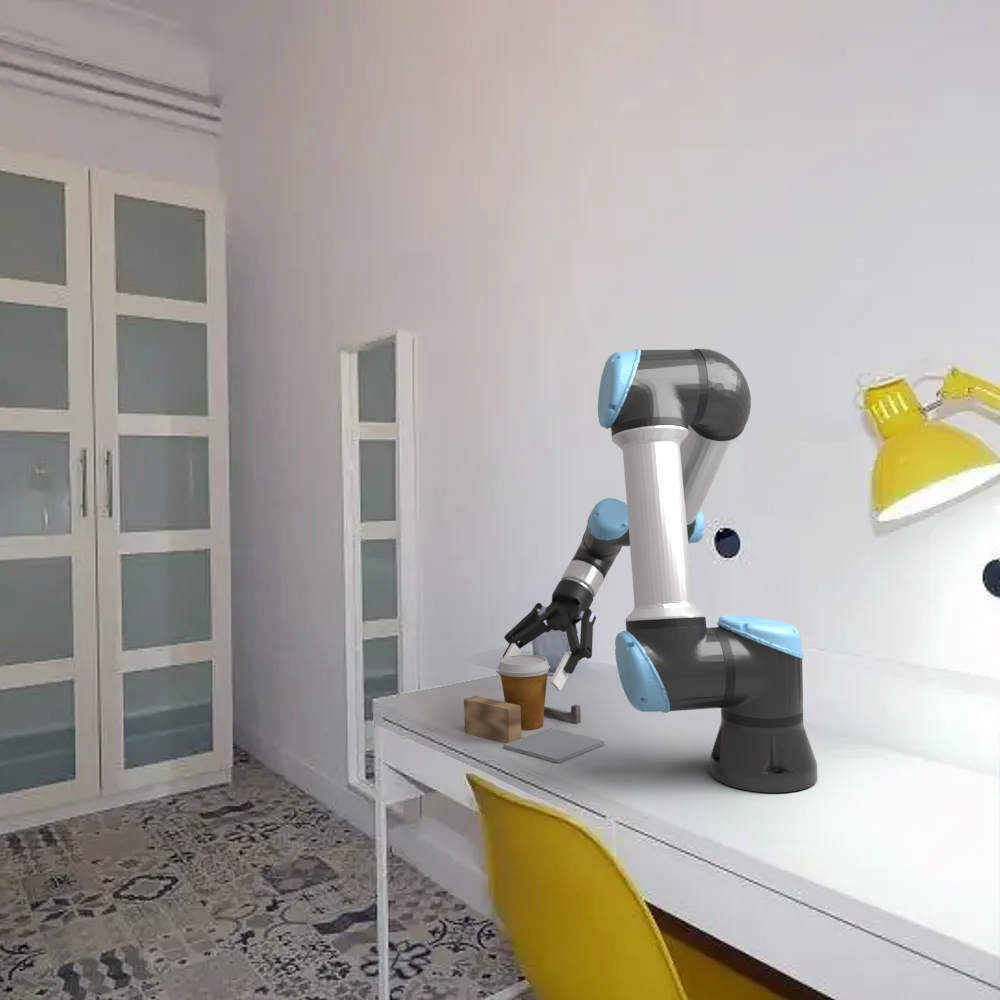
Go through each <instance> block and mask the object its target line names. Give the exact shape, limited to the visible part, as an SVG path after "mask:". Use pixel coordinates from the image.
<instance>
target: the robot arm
mask: <svg viewBox="0 0 1000 1000" xmlns="http://www.w3.org/2000/svg"><path fill="white" fill-rule="evenodd" d="M749 386H750V385H749V383H748V381H747V378H746V377H745V375H744V373H743V371H742V370H741V369H740V367H738V365H737V364H736V363H735V362H734V361H733V360H732V359H730V358H729V357H728V356H726V355H724V354H723V353H721V352H719V351H717V350H711V349H707V348H693V349H640V348H637V349H635V350H625V351H624V350H622V351H616V352H614V353H612V354H611V355H610V356H609V357H608V358H607V360H606V361H605V363H604V365H603V370H602V374H601V378H600V383H599V388H598V396H597V398H598V400H597V417H598V421H599V422H598V423H599V425H600V426H601V427H602V428H605V429H606V430H608V429H610V432H611V441H612V443H614V444H615V445H616V446H617V447H618V448H619V449H621V451H622V457H623V470H624V482H625V483H624V484H625V496H626V502H624V501H623V500H619V499H617V498H614V497H608V498H603V499H601V500H599V501H598V502H597V503H596V504H595V505H594V507H593V508H592V510H591V512H590V514H589V516H588V519H587V524H586V527H585V530H584V533H583V536H582V539H581V541H580V544H579V545H578V547H577V549H576V551H575V553H574V555H573V557H572V559H571V561H570V562H569V563H568V565H567V567H566V569H565V571H564V573H563V574H562V576H561V577H560V581H558V583H557V585H556V586H555V588H554V590H553V592H552V594H551V602H550V604H549V605H548V606H543V604H542V603H541V602H537V603H536V604H535V605H534V607H532V610H530V612H529V613H528V614H527V615H525V616H524V617H523V618H522V619H521V620H519V622H518V623H517V624H515V626H514V627H512V628H511V629H510V630H509V631H508V632H507V633H506V634H505V635H504V637H503V638H504V640H505V641H506V642H507V643H508V646H507V648H506V649H505V651H504V653H503V655H502V658H505V657H509V656H516V655H522V652H523V651H522V650H521V649H522V648H523V647H525V646H526V645H528V644H529V643H530V642H532V641H534V640H535V639H537V638H538V637H540V636H541V635H543V634H545V633H550V632H551V631H560V632H562V633H566V639H567V642H568V646H569V648H568V651H565V653H564V654H563V656H562V658H561V660H560V662H559V663H558V666H557V668H556V670H555V671H554V673H553V676H552V678H551V679H550V682H549V683H550V684H551V686H553V687H554V689H556V691H559V692H561V691H562V689H563V688H564V685H565V683H566V681H567V679H568V678H569V676H570V675H571V674H573V673H574V672H575V669H576V667H577V665H578V663H579V662H580V661H581V660H582V659H585V658H586V659H588V660H589V659H592V657H593V638H594V637H593V636H594V635H593V634H594V633H593V632H594V626H595V625H594V624H595V622H596V619H597V617H596V615H595V613H594V612H593V611H592V609H591V608H590V607H591V606H592V604H593V602H594V598H595V597H596V595H597V594H598V592H599V589H600V588H601V586H602V584H603V582H604V580H605V578H606V577H607V574H608V573H609V570H610V569H611V567H612V566H613V564H614V562H615V560H616V558H617V557H618V555H619V553H620V552H621V550H622V548H623V547H629V548H630V549H629V550H630V551H629V552H630V564H631V574H632V587H633V588H632V589H633V599H634V600H633V601H634V607H633V609H632V611H630V614H629V615H627V617H626V618H625V628H626V630H622V631H621V632H619V633H617V635H616V637H615V641H614V642H615V643H614V644H615V648H614V651H615V652H614V653H615V661H616V667H617V671H618V673H617V674H618V676H619V679H620V683H621V686H622V689H623V691H624V694H625V697H626V698H627V700H628V701H629V704H630V705H631V706H632V707H633V708H634V709H636V710H637V711H639V712H644V713H645V712H646V713H647V712H648V713H655V712H656V713H657V712H660V713H664V714H667V713H670V712H677V711H678V712H679V711H691V710H693V711H694V710H708V709H709V710H710V709H720V724H719V727H718V731H717V735H716V737H715V739H714V740H715V741H714V744H713V748H712V750H711V754H710V758H709V759H710V760H709V763H710V764H709V765H710V775H711V776H712V777H713V778H714V779H715V780H717V781H718V782H720V783H722V784H724V785H727V786H729V787H732V788H736V789H739V790H744V791H750V792H758V793H789V792H790V793H791V792H797V791H801V790H806V789H808V788H810V787H812V786H813V785H815V784H816V783H817V781H818V763H817V759H816V757H815V754H814V751H813V749H812V745H811V743H810V739H809V737H808V735H807V734H808V733H807V732H806V727H805V725H804V693H803V692H804V689H803V687H804V686H803V685H804V683H803V681H804V680H803V659H804V654H803V648H802V639H801V634H800V632H799V630H798V628H796V627H795V626H794V625H793V624H790V623H789V622H785V621H780V620H777V619H773V618H772V619H771V618H766V617H760V616H759V617H758V616H752V615H743V614H742V615H741V614H740V615H739V614H728V615H721V616H719V618H718V621H717V623H716V624H717V627H715V626H714V627H707V621H706V620H707V618H706V614H705V613H704V612H703V611H701V609H699V608H698V607H697V606H696V605H695V603H694V595H693V581H692V571H691V569H692V568H691V560H690V559H691V558H690V548H689V547H690V546H689V544H695V543H698V542H700V541H701V540H702V539H703V537H704V535H705V528H706V520H705V515H704V512H703V510H702V506H703V504H704V501H705V499H706V498H707V495H708V493H709V491H710V488H711V486H712V485H713V482H714V480H715V478H716V476H717V473H718V471H719V469H720V467H721V465H722V462H723V460H724V457H725V455H726V453H727V451H728V449H729V446H730V444H731V443H732V441H735V440H736V439H738V438H739V437H740V436H741V435H742V434H743V432H744V429H745V428H746V426H747V423H748V421H749V418H750V414H751V407H752V397H751V392H750V387H749ZM545 622H546V623H545ZM578 623H580V637H579V636H578V634H579V633H578V628H577V624H578ZM579 638H580V639H579ZM502 658H501V659H502ZM495 673H497V675H498V676H500V677H501V674H500V673H499V670H498V667H497V669H496V670H495Z"/></svg>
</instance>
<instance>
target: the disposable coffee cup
mask: <svg viewBox="0 0 1000 1000" xmlns="http://www.w3.org/2000/svg"><path fill="white" fill-rule="evenodd" d="M497 668H498V670H499V673H500V674H501V676H500V679H501V685H502V686H501V687H502V691H503V697H504V698H503V699H504V702H506V703H511V704H515V705H520V707H521V731H531V730H538V729H540V728H542V727H543V725H544V719H545V718H544V717H545V716H544V707H546V706H545V704H546V694H547V683H548V673H549V669H550V668H551V666H550V664H549V661H548V659H547V657H545V656H543V655H535V654H520V655H516V656H509V657H505V658H500V659H499V664H498V666H497Z"/></svg>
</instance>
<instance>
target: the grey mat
mask: <svg viewBox="0 0 1000 1000" xmlns="http://www.w3.org/2000/svg"><path fill="white" fill-rule="evenodd" d="M605 744H606V742H605V740H602V739H599V738H595V737H590V736H585V735H582V734H577V733H573V732H569V731H565V730H560V729H556V728H552V727H549V728H546V729H544V730H541V731H538V732H535V733H532V734H529V735H526V736H524V737H522V738H521V739H518V740H515V741H512V742H509V743H506V744H505V743H503V745H502V746H503V747H502V748H503V749H505V750H509V751H513V752H516V753H520V754H522V755H523V754H524V755H527V756H531V757H535V758H537V759H542V760H545V761H548V762H552V763H556V764H559V763H562V762H564V761H567V760H570V759H572V758H575V757H577V756H580V755H582V754H585V753H587V752H589V751H592V750H595V749H597V748H600V747H602V746H605Z"/></svg>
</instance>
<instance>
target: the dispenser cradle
mask: <svg viewBox="0 0 1000 1000" xmlns="http://www.w3.org/2000/svg"><path fill="white" fill-rule="evenodd" d="M463 713H464V714H463V715H464V719H463V720H464V733H465V734H468V735H473V736H476V737H479V738H483V739H488V740H491V741H494V742H499V743H502V744H506V743H509V742H512V741H515V740H518V739H521V738H523V737H522V730H521V707H520V705H515V704H511V703H506V702H505V701H500V700H497V699H493V698H488V697H484V696H479V695H474V696H470V697H467V698H463ZM581 716H582V715H581V705H577V704H575V705H574V704H573V705H571V706H570V711H567V710H563V709H559V708H553V707H548V706H545V707H544V717H547V718H550V719H556V720H559V721H564V722H568V723H573V724H577V725H578V724H580V723H582V722H581V721H582V720H581V719H582V717H581Z"/></svg>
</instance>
